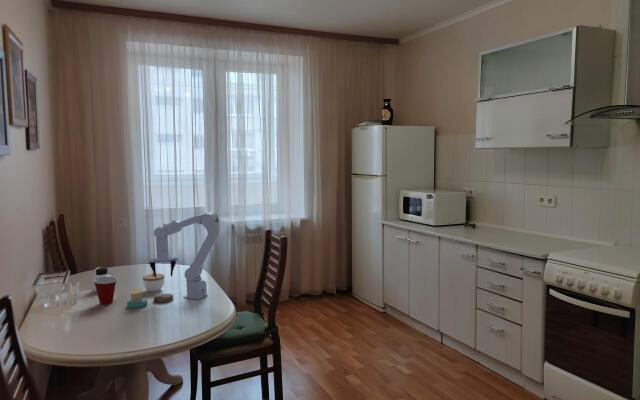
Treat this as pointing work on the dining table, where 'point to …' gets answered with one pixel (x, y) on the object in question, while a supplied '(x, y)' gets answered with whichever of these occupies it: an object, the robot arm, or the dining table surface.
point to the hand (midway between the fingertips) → (163, 276)
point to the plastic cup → (105, 289)
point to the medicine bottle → (100, 275)
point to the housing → (136, 296)
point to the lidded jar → (153, 282)
